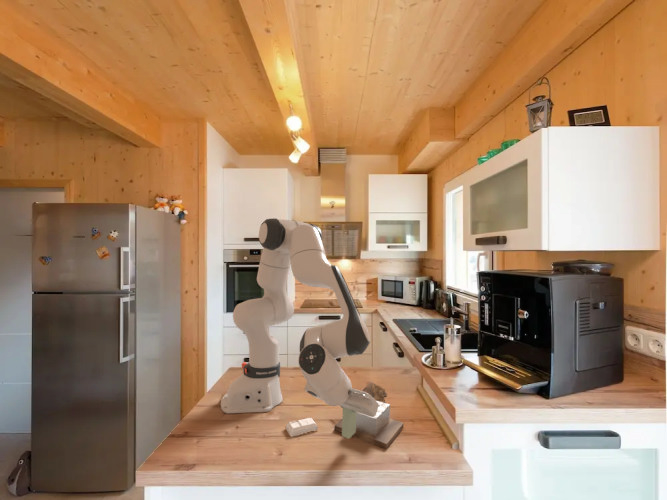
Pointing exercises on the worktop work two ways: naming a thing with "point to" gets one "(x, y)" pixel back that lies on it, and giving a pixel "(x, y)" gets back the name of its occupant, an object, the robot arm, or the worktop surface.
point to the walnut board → (384, 435)
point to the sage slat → (348, 423)
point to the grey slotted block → (373, 420)
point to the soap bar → (301, 426)
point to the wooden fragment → (375, 392)
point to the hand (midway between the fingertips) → (350, 408)
